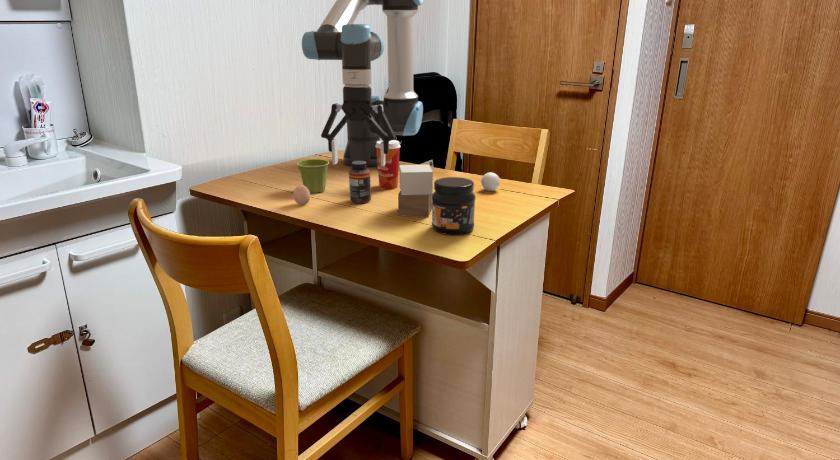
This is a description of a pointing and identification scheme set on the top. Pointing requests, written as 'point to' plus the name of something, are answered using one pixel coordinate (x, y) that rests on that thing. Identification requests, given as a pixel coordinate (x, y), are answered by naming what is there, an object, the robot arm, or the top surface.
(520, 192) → the top surface
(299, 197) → the egg
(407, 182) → the top block
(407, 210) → the bottom block
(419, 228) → the top surface
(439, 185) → the supplement container
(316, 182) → the plant pot
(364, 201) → the supplement bottle
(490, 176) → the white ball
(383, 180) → the paper cup
